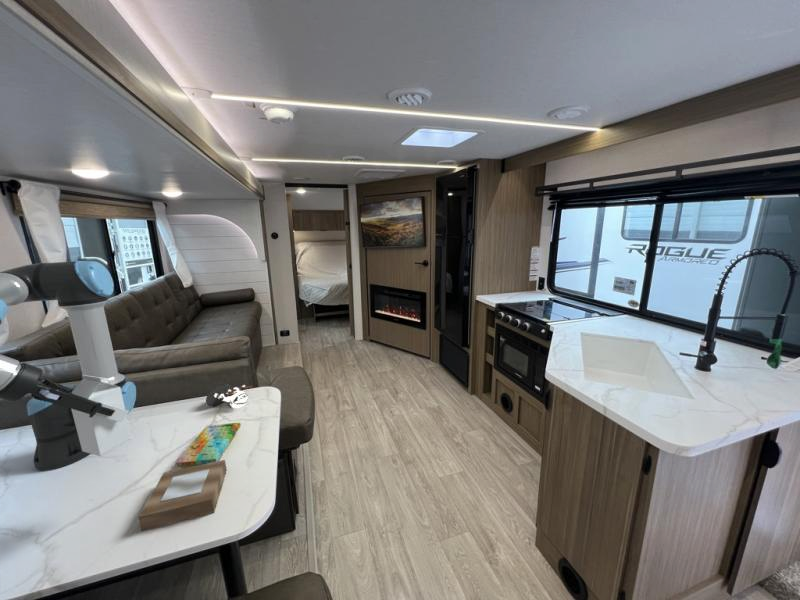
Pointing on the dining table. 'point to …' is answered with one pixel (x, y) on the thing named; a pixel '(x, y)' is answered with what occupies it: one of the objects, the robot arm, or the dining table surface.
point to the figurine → (228, 396)
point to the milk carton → (97, 430)
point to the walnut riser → (184, 495)
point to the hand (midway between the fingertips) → (117, 411)
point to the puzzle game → (208, 445)
